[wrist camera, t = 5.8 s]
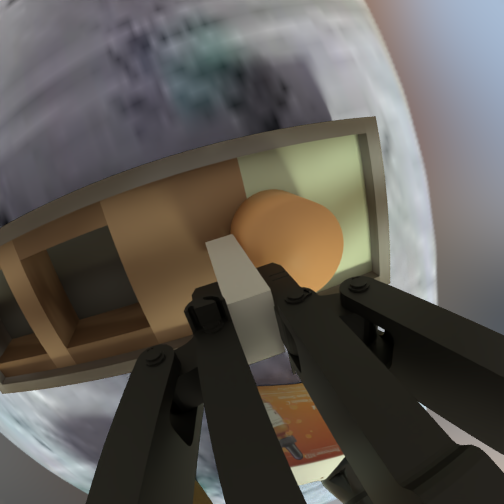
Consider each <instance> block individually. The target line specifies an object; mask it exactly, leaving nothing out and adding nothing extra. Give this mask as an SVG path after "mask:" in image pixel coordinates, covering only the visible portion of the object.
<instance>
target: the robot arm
mask: <svg viewBox="0 0 504 504" xmlns="http://www.w3.org/2000/svg"><path fill="white" fill-rule="evenodd" d="M205 244H206V247H207V250H208V253H209V256H210V260H211V263H212V266H213V269H214V272H215V275H216V278H217V282H214V283H211V284H208V285H204V286H201V287H198V288H195V290H194V292H193V294H192V301H191V302H189V303H188V305H187V306H186V307H185V310H184V314H185V316H186V318H187V321H188V323H189V325H190V328H191V330H192V332H193V337H192V339H191V340H190V341H189V342H187V343H186V344H184V345H183V346H181V347H179V348H177V349H176V350H174V349H173V348H172V347H171V346H169V345H167V344H159V345H155V346H152V347H150V348H148V349H146V350H145V351H144V352H142V353H141V354H140V356H139V357H138V359H137V361H136V363H135V365H134V368H133V370H132V373H131V375H130V378H129V380H128V383H127V385H126V388H125V390H124V393H123V395H122V398H121V400H120V403H119V406H118V408H117V411H116V414H115V416H114V419H113V422H112V424H111V427H110V430H109V433H108V436H107V438H106V441H105V444H104V447H103V450H102V453H101V456H100V459H99V462H98V465H97V468H96V471H95V475H94V478H93V481H92V484H91V488H90V491H89V494H88V498H87V502H86V504H193V496H194V486H195V477H196V468H197V459H198V450H199V442H200V433H201V425H202V417H203V410H204V408H205V413H206V419H207V424H208V429H209V434H210V439H211V444H212V448H213V453H214V457H215V462H216V466H217V471H218V475H219V479H220V483H221V487H222V491H223V495H224V499H225V503H226V504H307V503H306V501H305V499H304V497H303V495H302V492H301V490H300V488H299V486H298V484H297V481H296V479H295V477H294V475H293V472H292V470H291V468H290V466H289V463H288V461H287V459H286V456H285V454H284V452H283V449H282V447H281V445H280V442H279V440H278V438H277V435H276V433H275V430H274V428H273V425H272V423H271V421H270V418H269V416H268V413H267V411H266V408H265V406H264V403H263V401H262V398H261V396H260V393H259V391H258V388H257V385H256V383H255V380H254V378H253V375H252V373H251V370H250V367H249V365H250V364H253V363H256V362H259V361H261V360H264V359H267V358H270V357H273V356H275V355H278V354H281V353H283V352H285V348H284V345H285V347H286V348H287V350H288V354H289V359H290V363H291V368H292V372H293V374H296V372H297V374H298V376H299V378H300V380H301V381H302V383H303V385H304V387H305V388H306V390H307V392H308V394H309V395H310V397H311V399H312V401H313V402H314V404H315V406H316V408H317V409H318V411H319V413H320V415H321V416H322V418H323V420H324V421H325V423H326V425H327V427H328V428H329V430H330V432H331V433H332V435H333V437H334V439H335V440H336V442H337V444H338V445H339V447H340V449H341V451H342V452H343V454H344V456H345V457H344V458H343V460H342V461H341V462H340V463H339V464H338V466H337V467H336V468H335V469H334V470H333V472H332V473H331V474H330V475H329V476H328V477H327V478H326V479H325V480H321V482H322V484H323V486H324V487H325V488H326V489H327V490H328V491H329V492H331V493H332V494H333V495H334V496H335V497H336V498H338V499H339V500H340V501H341V502H342V503H343V504H504V473H503V472H502V471H501V469H500V468H499V467H498V466H497V465H496V464H495V463H494V461H493V460H492V459H491V458H490V457H489V456H488V455H487V454H486V453H485V452H484V451H483V450H481V449H480V448H479V447H476V446H474V445H459V444H456V443H455V442H454V441H453V440H452V439H451V438H450V437H449V436H448V435H447V434H446V432H445V431H444V430H443V429H442V428H441V427H440V426H439V425H438V424H437V422H436V421H435V420H434V419H433V418H432V417H431V416H430V415H429V413H428V412H427V411H426V410H425V409H424V408H423V407H422V406H421V405H420V404H419V402H420V403H421V404H423V405H424V406H426V407H427V408H429V409H430V410H432V411H434V412H435V413H437V414H438V415H440V416H441V417H443V418H445V419H446V420H448V421H449V422H451V423H452V424H454V425H456V426H457V427H459V428H460V429H462V430H463V431H465V432H467V433H468V434H470V435H471V436H473V437H475V438H476V439H478V440H479V441H481V442H483V443H484V444H486V445H488V446H489V447H491V448H493V449H494V450H496V451H498V452H499V453H501V454H503V455H504V335H502V334H500V333H497V332H495V331H493V330H491V329H488V328H486V327H484V326H482V325H480V324H478V323H475V322H473V321H471V320H469V319H466V318H464V317H462V316H459V315H457V314H455V313H453V312H451V311H448V310H446V309H444V308H441V307H439V306H437V305H434V304H432V303H430V302H428V301H425V300H423V299H421V298H418V297H416V296H414V295H411V294H409V293H407V292H404V291H402V290H399V289H397V288H395V287H392V286H390V285H388V284H385V283H383V282H380V281H378V280H376V279H373V278H370V277H366V276H355V277H351V278H348V279H346V280H344V281H343V282H342V283H341V284H340V287H339V293H336V294H330V295H323V296H319V295H318V294H317V293H316V292H315V291H313V290H312V289H310V288H306V287H300V286H299V285H298V283H297V282H296V281H295V280H294V279H293V278H292V277H291V276H290V275H289V274H288V272H287V271H286V270H285V269H284V268H283V267H282V266H281V265H279V264H276V263H273V262H272V263H269V264H266V265H263V266H260V267H257V268H255V266H254V265H253V263H252V262H251V260H250V259H249V257H248V256H247V254H246V253H245V251H244V250H243V249H242V247H241V246H240V244H239V243H238V241H237V240H236V238H235V237H234V235H233V234H230V235H227V236H224V237H221V238H218V239H214V240H211V241H208V242H205ZM378 326H379V327H381V328H383V329H385V332H382V331H380V330H378ZM283 343H284V344H283ZM295 371H296V372H295ZM203 403H204V405H203Z"/></svg>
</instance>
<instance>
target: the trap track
mask: <svg viewBox="0 0 504 504" xmlns="http://www.w3.org/2000/svg"><path fill="white" fill-rule="evenodd" d="M269 189H278V190H283V191H286V192H289V193H292V194H295V195H297V196H300V197H303V198H305V199H308V200H311V201H313V202H316V203H318V204H320V205H323V206H324V207H326V208H327V209H328V210H329V211H330V212H332V213H333V215H334V216H335V217H336V219H337V220H338V222H339V224H340V227H341V229H342V233H343V240H344V247H343V254H342V258H341V261H340V264H339V266H338V268H337V270H336V272H335V274H334V275H333V277H332V278H331V279H330V281H329V282H328V283H327V284H326V285H325V286H324V287H322V288H321V289H320V290H318V291H317V292H316V293H317V294H318V295H319V296H323V295H330V294H336V293H339V287H340V284H341V283H342V282H343V281H344V280H346V279H348V278H351V277H355V276H366V277H370V278H373V279H376V280H378V281H380V282H383V283H385V284H389V283H390V241H389V220H388V206H387V194H386V184H385V175H384V167H383V159H382V152H381V145H380V139H379V133H378V127H377V122H376V117H375V116H374V117H363V118H353V119H344V120H335V121H328V122H320V123H314V124H307V125H301V126H295V127H289V128H283V129H278V130H273V131H268V132H263V133H258V134H253V135H248V136H244V137H240V138H235V139H231V140H227V141H223V142H219V143H215V144H211V145H207V146H203V147H200V148H196V149H192V150H189V151H185V152H182V153H179V154H175V155H172V156H169V157H165V158H162V159H159V160H156V161H153V162H150V163H147V164H144V165H141V166H138V167H135V168H132V169H130V170H127V171H124V172H121V173H119V174H116V175H113V176H111V177H108V178H105V179H103V180H100V181H98V182H95V183H93V184H90V185H88V186H85V187H83V188H81V189H78V190H76V191H74V192H71V193H69V194H67V195H65V196H62V197H60V198H58V199H56V200H54V201H51V202H49V203H47V204H45V205H43V206H41V207H39V208H37V209H35V210H33V211H31V212H29V213H27V214H25V215H23V216H21V217H19V218H17V219H16V220H14V221H12V222H10V223H8V224H6V225H5V226H3V227H1V228H0V391H1V392H2V394H6V393H15V392H24V391H32V390H40V389H47V388H53V387H60V386H66V385H72V384H78V383H83V382H88V381H94V380H99V379H104V378H108V377H113V376H118V375H122V374H127V373H131V372H132V370H133V368H134V365H135V363H136V361H137V359H138V357H139V356H140V354H141V353H142V352H144V351H145V350H146V349H148V348H150V347H152V346H155V345H159V344H167V345H169V346H171V347H172V348H173V349H174V350H176V349H177V348H179V347H181V346H183V345H184V344H186V343H187V342H189V341H190V340H191V339H192V337H193V332H192V330H191V328H190V325H189V323H188V321H187V318H186V316H185V314H184V310H185V307H186V306H187V305H188V303H189V302H191V301H192V294H193V292H194V290H195V288H198V287H201V286H204V285H208V284H211V283H214V282H217V278H216V275H215V272H214V269H213V266H212V263H211V260H210V256H209V253H208V250H207V247H206V244H205V242H208V241H211V240H214V239H218V238H221V237H224V236H227V235H230V230H231V223H232V220H233V217H234V215H235V213H236V211H237V209H238V208H239V207H240V205H241V204H242V203H243V202H244V201H245V200H246V199H247V198H249V197H250V196H252V195H253V194H255V193H258V192H260V191H264V190H269Z"/></svg>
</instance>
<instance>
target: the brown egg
mask: <svg viewBox="0 0 504 504" xmlns="http://www.w3.org/2000/svg"><path fill="white" fill-rule="evenodd" d="M230 234H233V235H234V237H235V238H236V240H237V241H238V243H239V244H240V246H241V247H242V249H243V250H244V251H245V253H246V254H247V256H248V257H249V259H250V260H251V262H252V263H253V265H254V266H255V268H257V267H260V266H263V265H266V264H269V263H272V262H273V263H276V264H279V265H281V266H282V267H283V268H284V269H285V270H286V271H287V272H288V274H289V275H290V276H291V277H292V278H293V279H294V280H295V281H296V282H297V283H298V285H299V286H300V287H306V288H310V289H312V290H313V291H315V292H317V291H318V290H320V289H321V288H322V287H324V286H325V285H326V284H327V283H328V282H329V281H330V279H331V278H332V277H333V275H334V274H335V272H336V270H337V268H338V266H339V264H340V261H341V258H342V254H343V247H344V240H343V233H342V229H341V227H340V224H339V222H338V220H337V219H336V217H335V216H334V215H333V213H332V212H330V211H329V210H328V209H327V208H326V207H324V206H323V205H320V204H318V203H316V202H313V201H311V200H308V199H305V198H303V197H300V196H297V195H295V194H292V193H289V192H286V191H283V190H278V189H269V190H264V191H260V192H258V193H255V194H253V195H252V196H250V197H249V198H247V199H246V200H245V201H244V202H243V203H242V204H241V205H240V207H239V208H238V209H237V211H236V213H235V215H234V217H233V220H232V223H231V230H230Z"/></svg>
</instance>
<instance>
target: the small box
mask: <svg viewBox="0 0 504 504" xmlns="http://www.w3.org/2000/svg"><path fill="white" fill-rule="evenodd" d="M257 388H258V391H259V393H260V396H261V398H262V401H263V403H264V406H265V408H266V411H267V413H268V416H269V418H270V421H271V423H272V425H273V428H274V430H275V433H276V435H277V438H278V440H279V442H280V445H281V447H282V449H283V452H284V454H285V456H286V459H287V461H288V463H289V466H290V468H291V470H292V472H293V475H294V477H295V479H296V481H297V484H298V485H302V484H307V483H311V482H315V481H321V480H325V479H326V478H327V477H328V476H329V475H330V474H331V473H332V472H333V470H334V469H335V468H336V467H337V466H338V464H339V463H340V462H341V461H342V460H343V458H344V457H345V456H344V454H343V452H342V451H341V449H340V447H339V445H338V444H337V442H336V440H335V439H334V437H333V435H332V433H331V432H330V430H329V428H328V427H327V425H326V423H325V421H324V420H323V418H322V416H321V415H320V413H319V411H318V409H317V408H316V406H315V404H314V402H313V401H312V399H311V397H310V395H309V394H308V392H307V390H306V388H305V387H304V385H303V383H299V384H291V385H276V386H257Z"/></svg>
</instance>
